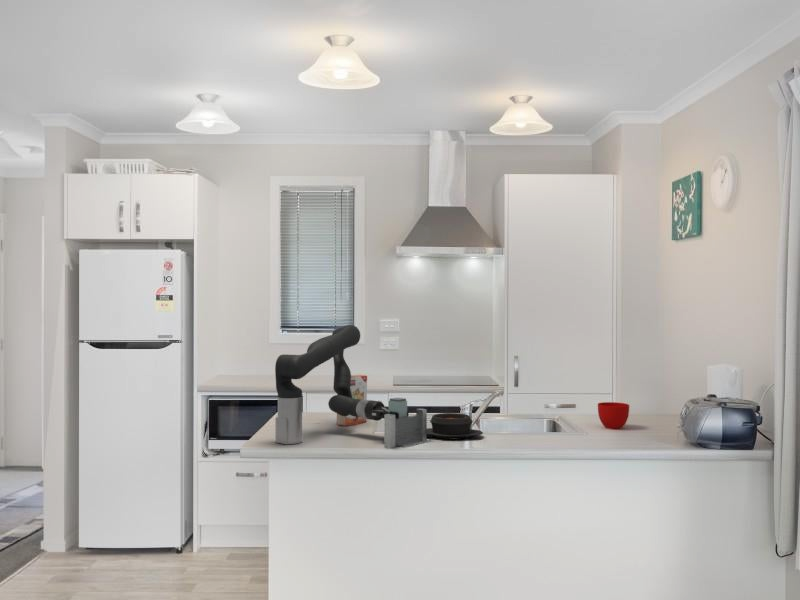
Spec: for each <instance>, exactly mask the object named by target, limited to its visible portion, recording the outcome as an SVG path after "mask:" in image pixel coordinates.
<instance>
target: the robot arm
mask: <svg viewBox="0 0 800 600" xmlns="http://www.w3.org/2000/svg"><path fill="white" fill-rule="evenodd" d="M360 340H361V332H360V330H359V328H358V327H357V326H356V325H353V324H347V325H344V326H341V327H337V328H335V329H334V330H333V331H332V333H331V334H330V335H327V336H324V337H320V338H319V339H316V340H314V341H313V342H311V343H310V344H309V345H308V347H307V349H306V352H305V353H303V354H281V355H280V354H279V356H278V357H277V358H276V362H275V365H274V366H275V367H274V368H275V369H274V372H275V374H274V375H275V389H276V393H277V416H276V417H275V440H274V441H275V443H276V444H277V443H278V444H282V445H295V444H300V443H302V442H303V390H302V388H300V387H298V386H297V385H295V384H294V383H293V381H292V380H300V379H302V378H304V377H305V376H307V375H308V374H309V373H310V372H311V371H312V370H314V369H316V368H317V367H319V366H321V365H322V364H324V363H326V362H327V361H329V360H331V359H332V358H333V367H334V372H333V374H334V375H333V391H334V392H335V393H336V394H334V395H332V397H330V398H329V400H328V408H329V410H330V411H332V412H333V413H336V415H337V414H339V415H341V416H348V415H351V416H355V417H361V418H364V419H366V420H370V421H381V420H382V419H384V415H386V414H393V415H395V418H399V413H398V412H390V411H389V405H386V406H385V404H384V403H383V402H382V401H381V400H374V399H373V400H371V399H367V400H361V399H353V398H352V393H351V389H350V386H351V375H352V372H351V369H350V367H349V366H348V363H347V362H346V360H345V356H344V351H345V349H349V348H350V347H354V346H356V345H358V344H359V342H360ZM337 394H338V395H337ZM407 416H410V415H409V410H407Z"/></svg>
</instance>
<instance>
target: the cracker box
mask: <svg viewBox="0 0 800 600" xmlns="http://www.w3.org/2000/svg"><path fill="white" fill-rule="evenodd" d="M350 389H351V393H352V398H353V399H361V400H368V399H367V398H368V375H366V374H353V375H352V374H351V386H350ZM336 395H338V394H337V393H336ZM362 422H364V423H367V419H364V418H361V417H355V416H351V415H348V416H341V415H339V414H337V413H336V425H338V426H343V427H347V426H353V425H358V424H357V423H359V424H363V423H362Z"/></svg>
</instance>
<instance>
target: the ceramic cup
mask: <svg viewBox="0 0 800 600" xmlns="http://www.w3.org/2000/svg"><path fill="white" fill-rule="evenodd" d="M597 413H598V419H599V420H600V422H601V424H602V425H603V427H606V428H605V429H608V428H611V429H610V430H620V429H619V428H621V429H622V428H623V427H624V426H625V424H626V423H627V422H628V419H629V415H630V414H629V413H630V405H629V404H628V403H624V402H616V401H615V402H614V401H613V402H612V401H608V402H607V401H605V402H599V403H597Z"/></svg>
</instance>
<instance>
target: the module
mask: <svg viewBox="0 0 800 600" xmlns="http://www.w3.org/2000/svg"><path fill="white" fill-rule="evenodd" d="M388 406H389V411H390V412H398V413H399V418H401V417H407V411H408V400H407V398H404V397H393V398H389V400H388ZM395 419H396V418H395Z"/></svg>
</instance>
